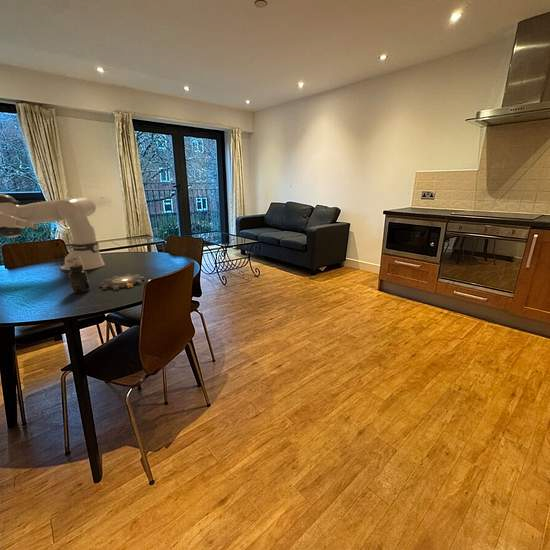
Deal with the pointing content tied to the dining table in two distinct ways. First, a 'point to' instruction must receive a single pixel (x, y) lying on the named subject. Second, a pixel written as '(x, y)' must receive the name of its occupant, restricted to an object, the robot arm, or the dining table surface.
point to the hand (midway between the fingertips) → (35, 225)
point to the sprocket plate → (122, 281)
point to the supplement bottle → (78, 279)
